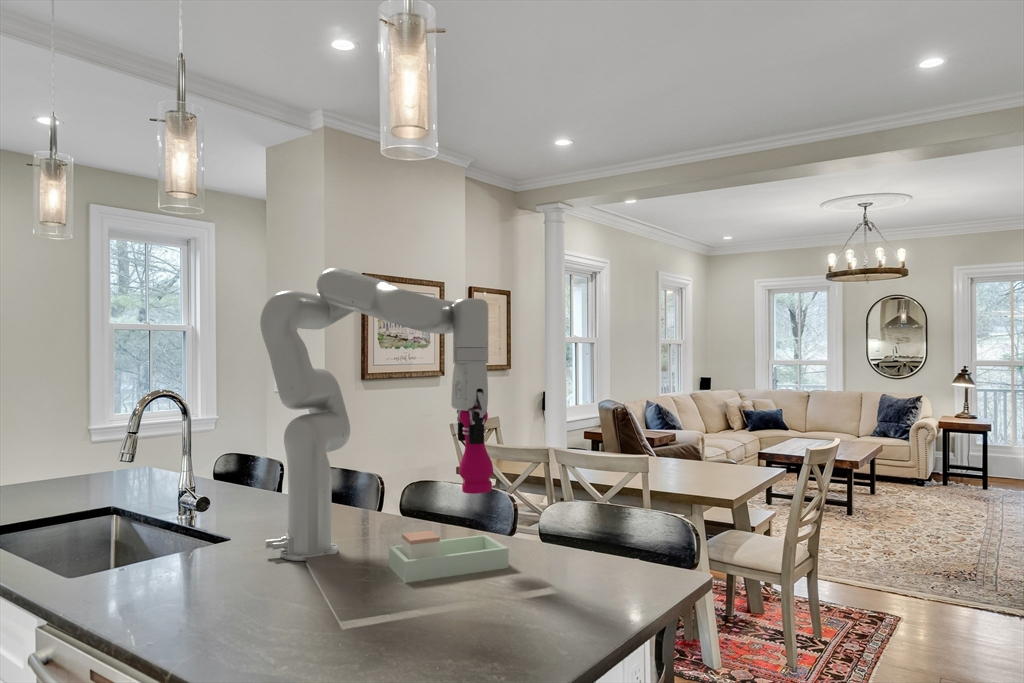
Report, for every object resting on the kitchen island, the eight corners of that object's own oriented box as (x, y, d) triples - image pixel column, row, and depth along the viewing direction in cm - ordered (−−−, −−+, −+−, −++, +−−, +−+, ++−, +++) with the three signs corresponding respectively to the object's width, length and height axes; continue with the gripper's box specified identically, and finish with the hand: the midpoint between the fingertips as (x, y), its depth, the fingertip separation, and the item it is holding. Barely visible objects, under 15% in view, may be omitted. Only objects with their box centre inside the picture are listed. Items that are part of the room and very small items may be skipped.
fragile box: (410, 576, 133) (410, 540, 133) (401, 568, 138) (401, 533, 138) (439, 572, 135) (439, 537, 136) (430, 564, 141) (430, 530, 141)
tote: (405, 588, 129) (405, 561, 129) (388, 570, 140) (388, 546, 140) (508, 572, 139) (508, 548, 139) (485, 557, 149) (485, 534, 150)
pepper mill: (489, 494, 138) (484, 396, 139) (455, 494, 139) (451, 398, 140) (497, 487, 145) (493, 394, 146) (465, 487, 146) (461, 396, 147)
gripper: (440, 357, 149) (440, 438, 148) (469, 356, 133) (469, 447, 133) (472, 357, 152) (471, 437, 152) (503, 356, 137) (503, 445, 136)
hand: (470, 441), depth 142 cm, fingers closed on pepper mill, 5 cm apart
